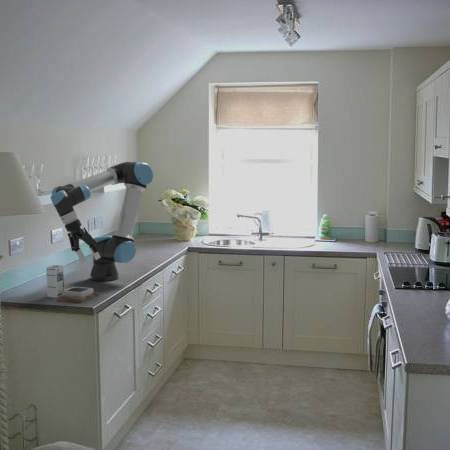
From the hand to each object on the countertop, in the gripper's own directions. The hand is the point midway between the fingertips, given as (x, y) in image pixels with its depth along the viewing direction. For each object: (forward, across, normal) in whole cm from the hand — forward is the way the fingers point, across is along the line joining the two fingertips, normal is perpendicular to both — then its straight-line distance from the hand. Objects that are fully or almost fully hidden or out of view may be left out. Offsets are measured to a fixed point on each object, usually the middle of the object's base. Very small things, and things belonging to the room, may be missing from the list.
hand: (91, 260), depth 311 cm
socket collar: (+10, +3, -16) cm, 19 cm away
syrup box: (+7, -8, -21) cm, 24 cm away
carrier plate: (+12, +2, -16) cm, 20 cm away
